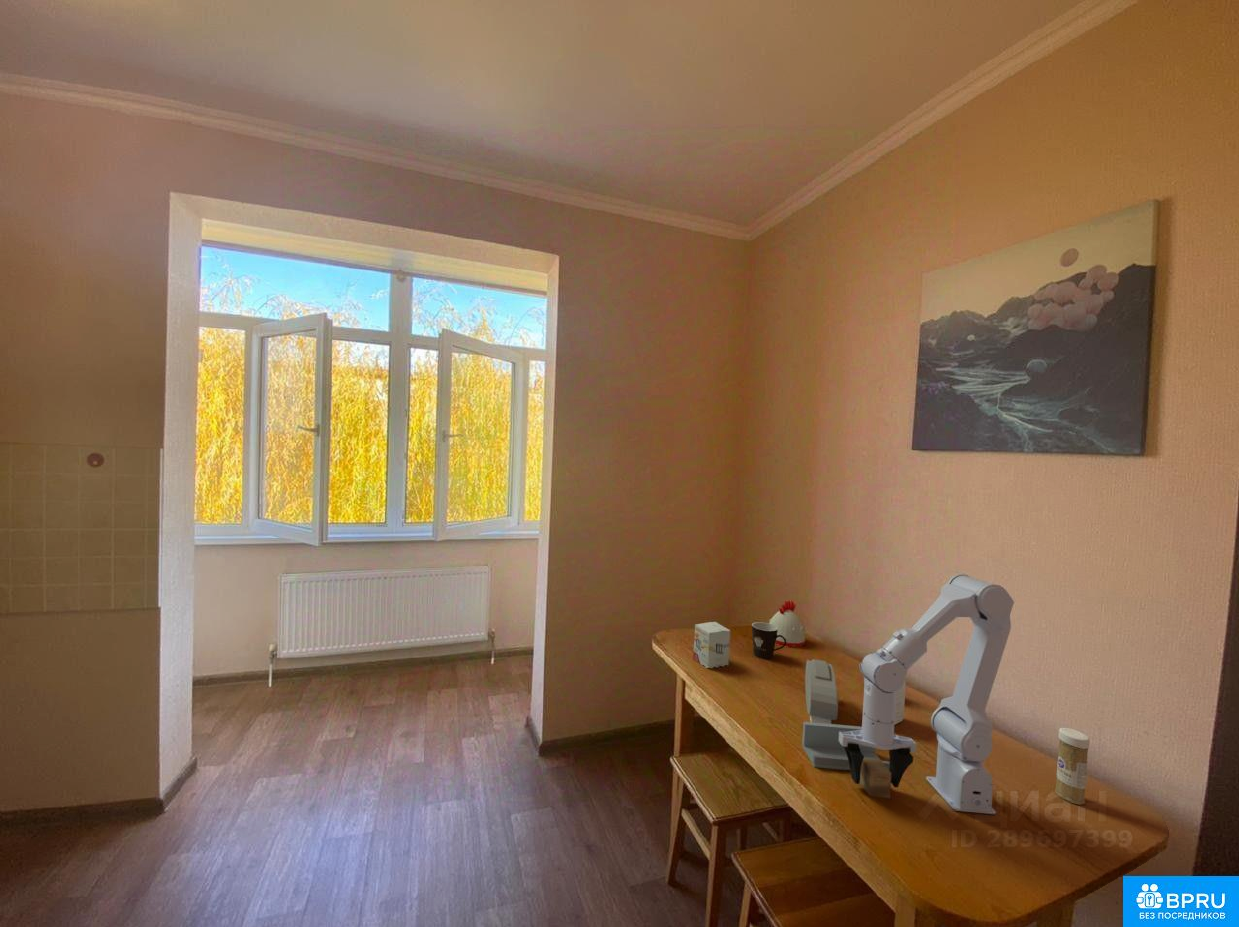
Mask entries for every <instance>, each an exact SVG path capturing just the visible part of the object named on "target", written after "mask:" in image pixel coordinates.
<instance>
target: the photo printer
mask: <svg viewBox="0 0 1239 927" xmlns="http://www.w3.org/2000/svg"><path fill="white" fill-rule="evenodd" d="M906 684H907V683H906V680H905V681H904V684H903V686H902V687H901V688H899V689H898V690H896V705H895V723H894V726H895V725H897V724H899V723H901V722H902V721H903V720H904V717H905V701H906V688H907V685H906Z"/></svg>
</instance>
